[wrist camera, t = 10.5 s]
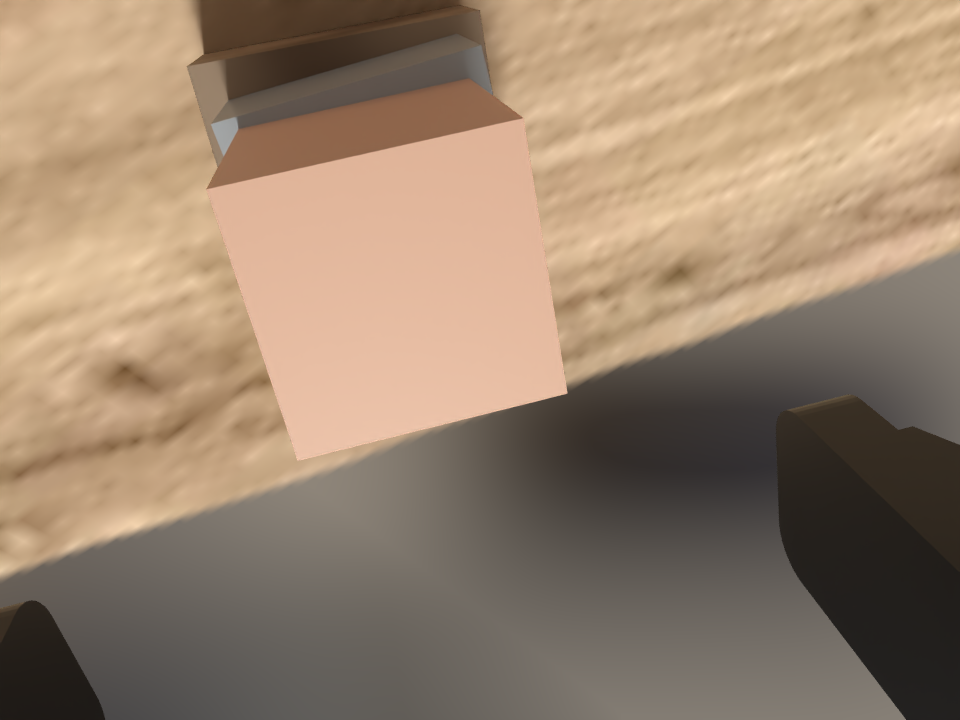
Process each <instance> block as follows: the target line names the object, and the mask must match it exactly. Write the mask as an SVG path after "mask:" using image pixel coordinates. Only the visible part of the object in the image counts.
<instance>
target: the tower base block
mask: <svg viewBox="0 0 960 720" xmlns="http://www.w3.org/2000/svg"><path fill="white" fill-rule="evenodd" d="M454 34H459V35H461V36H463V37H465V38H467V39H469V40H471V41H474V42H476V43H478V44H480V45H481V46H482V50H483V55H484V59H485V63H486V67H487V71H488V75H489V69H488V62H487V56H486V49H485V43H484V36H483V30H482V23H481V16H480V10H476V9H472V8H468V7H464V6H461V5H459V6H454V7H449V8H444V9H438V10H433V11H428V12H423V13H417V14H412V15H407V16H402V17H396V18H391V19H386V20H381V21H375V22H370V23H365V24H360V25H354V26H349V27H344V28H339V29H334V30H328V31H323V32H318V33H313V34H307V35H302V36H297V37H292V38H286V39H281V40H276V41H271V42H265V43H260V44H255V45H250V46H244V47H239V48H234V49H229V50H223V51H218V52H213V53H208V54H204V55H202V56H201V57H199V58H198V59H197V60H195V61H194V62H193V63H191V64H190V65H188V66H187V68H188V72H189V75H190V78H191V82H192V85H193V88H194V91H195V95H196V98H197V101H198V104H199V108H200V111H201V114H202V118H203V121H204V124H205V127H206V131H207V134H208V137H209V140H210V144H211V147H212V150H213V154H214V157H215V160H216V163H217V167H219V165H220V163H221V161H222V159H223V157H224V156H223V154H222V151H221V149H220V146H219V144H218V141H217V139H216V136H215V134H214V131H213V129H212V126H211V123H212V122H213V120H214V119H215V118H216V116H217V115H218V114H219V112H220V111H221V109H222V108H223V107H224V105H225V104H226V103H227V101H228V100H231V99H234V98H237V97H241V96H244V95H248V94H251V93H255V92H258V91H261V90H265V89H268V88H272V87H275V86H279V85H282V84H285V83H289V82H292V81H296V80H299V79H303V78H306V77H310V76H313V75H316V74H320V73H323V72H327V71H330V70H334V69H337V68H340V67H344V66H347V65H351V64H354V63H358V62H361V61H364V60H368V59H371V58H375V57H378V56H382V55H385V54H388V53H392V52H395V51H399V50H402V49H406V48H409V47H412V46H416V45H419V44H423V43H426V42H430V41H433V40H437V39H440V38H443V37H447V36H450V35H454ZM489 80H490V75H489ZM490 84H491V82H490Z"/></svg>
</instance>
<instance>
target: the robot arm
mask: <svg viewBox="0 0 960 720" xmlns="http://www.w3.org/2000/svg"><path fill="white" fill-rule="evenodd" d="M776 448H777V476H778V506H779V527H780V533H781V537H782V542H783V545H784V548H785V551H786V554H787V557H788V559H789V561H790V563H791V566H792V568H793V569H794V571H795V573H796V575H797V577H798V578H799V580H800V581H801V582H802V584H803V585H804V586H805V588H806V589H807V590H808V592H809V593H810V594H811V595H812V597H813V598H814V599H815V601H816V602H817V603H818V605H819V606H820V607H821V609H822V610H823V611H824V613H825V614H826V615H827V616H828V618H829V619H830V620H831V622H832V623H833V624H834V626H835V627H836V628H837V630H838V631H839V632H840V634H841V635H842V636H843V637H844V639H845V640H846V641H847V643H848V644H849V645H850V647H851V648H852V649H853V651H854V652H855V653H856V654H857V656H858V657H859V658H860V660H861V661H862V662H863V664H864V665H865V666H866V667H867V669H868V670H869V672H870V673H871V674H872V675H873V677H874V678H875V679H876V681H877V682H878V683H879V685H880V686H881V687H882V689H883V690H884V691H885V692H886V694H887V695H888V696H889V698H890V699H891V700H892V702H893V703H894V704H895V706H896V707H897V708H898V709H899V711H900V712H901V713H902V715H903V716H904V717H905V719H906V720H960V445H958V444H956V443H953V442H951V441H948V440H945V439H943V438H940V437H938V436H936V435H933V434H930V433H928V432H925V431H923V430H920V429H918V428H915V427H909V428H905V429H901V430H897V429H896V428H895V427H894V426H892V425H891V424H890V423H889V422H888V421H887V420H885V419H884V418H883V417H882V416H880V415H879V414H878V413H877V412H876V411H874V410H873V409H872V408H871V407H869V406H868V405H867V404H866V403H865V402H863V401H862V400H861V399H859V398H858V397H856V396H854V395H845V396H841V397H837V398H833V399H829V400H825V401H821V402H817V403H813V404H809V405H805V406H801V407H797V408H794V409H790V410H786V411H783V412H781V413H780V415H779V416H778V419H777V424H776ZM0 720H105V717H104V713H103V710H102V707H101V704H100V702H99V700H98V698H97V696H96V694H95V692H94V691H93V689H92V687H91V685H90V683H89V682H88V680H87V678H86V676H85V675H84V673H83V671H82V669H81V667H80V665H79V664H78V662H77V660H76V658H75V657H74V655H73V653H72V651H71V649H70V648H69V646H68V644H67V642H66V640H65V639H64V637H63V635H62V633H61V632H60V630H59V628H58V626H57V624H56V623H55V621H54V619H53V617H52V615H51V614H50V612H49V611H48V610H47V608H46V607H45V606H43V605H42V604H41V603H39V602H37V601H27V602H23V603H19V604H15V605H11V606H7V607H3V608H0Z"/></svg>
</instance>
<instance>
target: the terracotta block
mask: <svg viewBox="0 0 960 720" xmlns="http://www.w3.org/2000/svg"><path fill="white" fill-rule="evenodd" d="M206 190H207V193H208V196H209V199H210V202H211V205H212V208H213V211H214V214H215V216H216V219H217V222H218V225H219V228H220V231H221V234H222V237H223V240H224V243H225V246H226V249H227V252H228V255H229V258H230V261H231V264H232V267H233V270H234V273H235V276H236V279H237V282H238V285H239V288H240V291H241V294H242V297H243V300H244V303H245V305H246V308H247V311H248V314H249V317H250V320H251V323H252V326H253V329H254V332H255V335H256V338H257V341H258V344H259V347H260V350H261V353H262V356H263V359H264V362H265V365H266V368H267V371H268V374H269V377H270V380H271V383H272V386H273V389H274V392H275V394H276V397H277V400H278V403H279V406H280V409H281V412H282V415H283V418H284V421H285V424H286V427H287V430H288V433H289V436H290V439H291V442H292V445H293V448H294V451H295V454H296V457H297V460H298V461H299V460H303V459H307V458H311V457H315V456H319V455H323V454H327V453H331V452H335V451H339V450H343V449H347V448H351V447H355V446H359V445H363V444H367V443H371V442H375V441H379V440H383V439H387V438H391V437H395V436H399V435H403V434H407V433H411V432H415V431H419V430H423V429H427V428H431V427H435V426H439V425H443V424H447V423H451V422H455V421H459V420H463V419H467V418H471V417H475V416H479V415H483V414H487V413H491V412H495V411H499V410H503V409H507V408H511V407H515V406H519V405H523V404H527V403H531V402H535V401H539V400H543V399H547V398H550V397H555V396H559V395H563V394H567V388H566V382H565V376H564V369H563V363H562V357H561V351H560V344H559V338H558V332H557V325H556V319H555V313H554V307H553V300H552V294H551V288H550V281H549V275H548V269H547V263H546V256H545V250H544V244H543V238H542V231H541V225H540V219H539V212H538V206H537V200H536V194H535V187H534V181H533V175H532V168H531V162H530V156H529V150H528V143H527V137H526V131H525V124H524V118H523V117H521V116H520V115H519V114H517V113H516V112H514V111H513V110H512V109H510V108H509V107H508V106H506V105H505V104H504V103H502V102H501V101H500V100H498V99H497V98H495V97H494V96H493V95H491V94H490V93H489V92H487V91H486V90H485V89H483V88H482V87H481V86H479V85H478V84H477V83H475V82H474V81H472V80H471V79H470V78H467V79H463V80H458V81H454V82H449V83H445V84H440V85H436V86H431V87H426V88H422V89H417V90H413V91H408V92H404V93H399V94H395V95H390V96H386V97H381V98H377V99H372V100H367V101H363V102H358V103H354V104H349V105H345V106H340V107H336V108H331V109H327V110H322V111H317V112H313V113H308V114H304V115H299V116H295V117H290V118H286V119H281V120H277V121H272V122H268V123H263V124H258V125H254V126H249V127H245V128H240V129H238V131H237V133H236V134H235V136H234V138H233V140H232V142H231V144H230V146H229V148H228V150H227V151H226V153H225V155H224V157H223V159H222V161H221V163H220V165H219V167H218V168H217V170H216V172H215V174H214V176H213V178H212V180H211V182H210V184H209V185H208V187H207V189H206Z"/></svg>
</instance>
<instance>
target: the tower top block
mask: <svg viewBox="0 0 960 720" xmlns="http://www.w3.org/2000/svg"><path fill="white" fill-rule="evenodd" d="M467 78H470V79H471V80H472V81H474V82H475V83H477V84H478V85H479V86H481V87H482V88H483V89H485V90H486V91H487V92H489V93H490V94H491V95H493V92H492V88H491V84H490V80H489V75H488V71H487V67H486V63H485V59H484V55H483V50H482V46H481V45H480V44H478V43H476V42H474V41H471V40H469V39H467V38H465V37H463V36H461V35H459V34H454V35H450V36H447V37H443V38H440V39H437V40H433V41H430V42H426V43H423V44H419V45H416V46H412V47H409V48H406V49H402V50H399V51H395V52H392V53H388V54H385V55H382V56H378V57H375V58H371V59H368V60H364V61H361V62H358V63H354V64H351V65H347V66H344V67H340V68H337V69H334V70H330V71H327V72H323V73H320V74H316V75H313V76H310V77H306V78H303V79H299V80H296V81H292V82H289V83H285V84H282V85H279V86H275V87H272V88H268V89H265V90H261V91H258V92H255V93H251V94H248V95H244V96H241V97H237V98H234V99H231V100H228V101H227V103H226V104H225V105H224V107H223V108H222V109H221V111H220V112H219V114H218V115H217V116H216V118H215V119H214V120H213V122H212V123H211V126H212V129H213V131H214V134H215V136H216V139H217V141H218V144H219V146H220V149H221V151H222V154H223V156H224V155H225V153H226V151H227V150H228V148H229V146H230V144H231V142H232V140H233V138H234V136H235V134H236V133H237V131H238V129H240V128H245V127H249V126H254V125H258V124H263V123H268V122H272V121H277V120H281V119H286V118H290V117H295V116H299V115H304V114H308V113H313V112H317V111H322V110H327V109H331V108H336V107H340V106H345V105H349V104H354V103H358V102H363V101H367V100H372V99H377V98H381V97H386V96H390V95H395V94H399V93H404V92H408V91H413V90H417V89H422V88H426V87H431V86H436V85H440V84H445V83H449V82H454V81H458V80H463V79H467Z"/></svg>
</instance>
